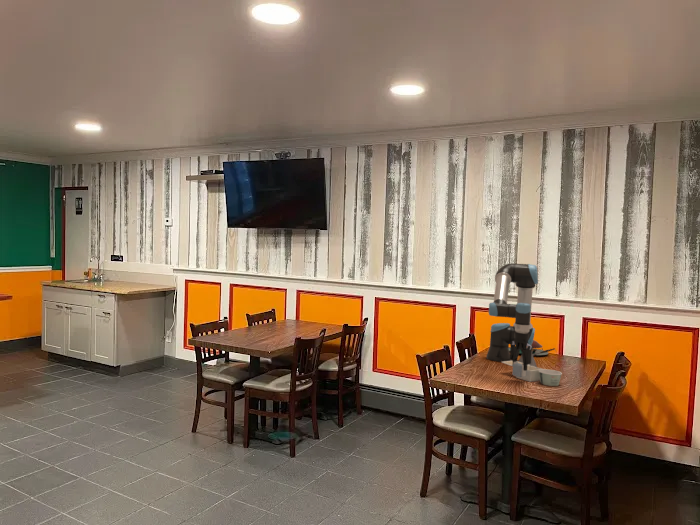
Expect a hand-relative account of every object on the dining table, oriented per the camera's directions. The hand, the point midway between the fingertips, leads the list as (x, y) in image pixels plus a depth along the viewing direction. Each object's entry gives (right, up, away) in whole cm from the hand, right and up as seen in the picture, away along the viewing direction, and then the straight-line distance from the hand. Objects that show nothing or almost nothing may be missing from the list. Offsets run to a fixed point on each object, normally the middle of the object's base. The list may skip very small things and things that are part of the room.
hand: (519, 374), depth 295 cm
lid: (+3, +3, +16) cm, 16 cm away
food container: (+16, -5, -2) cm, 16 cm away
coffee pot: (+17, -4, +26) cm, 31 cm away
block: (0, 0, 0) cm, 0 cm away
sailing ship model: (+32, -3, +86) cm, 92 cm away
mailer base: (+8, -4, +7) cm, 11 cm away
